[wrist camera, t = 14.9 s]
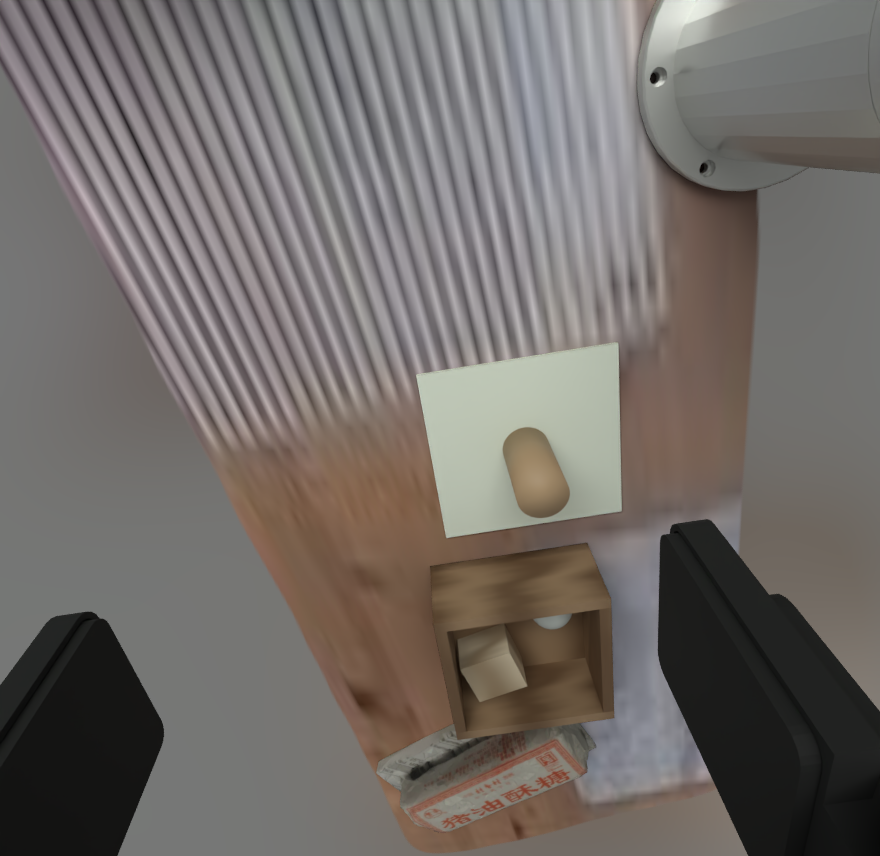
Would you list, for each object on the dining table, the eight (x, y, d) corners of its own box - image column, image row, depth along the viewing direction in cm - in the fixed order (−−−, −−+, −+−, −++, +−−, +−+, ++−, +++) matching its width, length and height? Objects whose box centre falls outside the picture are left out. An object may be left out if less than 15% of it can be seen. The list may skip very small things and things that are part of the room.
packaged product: (554, 724, 48) (609, 786, 51) (541, 674, 52) (593, 735, 56) (372, 809, 51) (436, 860, 55) (375, 756, 56) (434, 807, 60)
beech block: (503, 623, 47) (509, 652, 44) (521, 655, 49) (527, 686, 46) (457, 639, 48) (460, 669, 45) (476, 671, 49) (479, 702, 47)
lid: (614, 339, 38) (652, 378, 32) (618, 505, 44) (651, 564, 38) (416, 371, 39) (417, 415, 33) (445, 531, 45) (451, 594, 39)
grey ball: (566, 572, 45) (576, 603, 42) (568, 604, 47) (578, 635, 44) (524, 579, 45) (531, 609, 42) (527, 610, 47) (535, 641, 44)
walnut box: (586, 542, 45) (610, 598, 40) (592, 655, 50) (614, 718, 45) (430, 566, 45) (433, 624, 40) (452, 675, 51) (457, 740, 45)
